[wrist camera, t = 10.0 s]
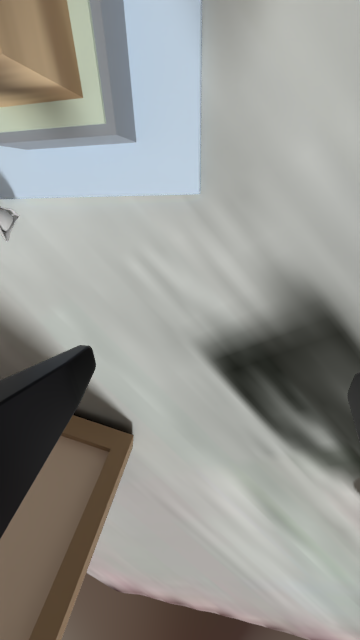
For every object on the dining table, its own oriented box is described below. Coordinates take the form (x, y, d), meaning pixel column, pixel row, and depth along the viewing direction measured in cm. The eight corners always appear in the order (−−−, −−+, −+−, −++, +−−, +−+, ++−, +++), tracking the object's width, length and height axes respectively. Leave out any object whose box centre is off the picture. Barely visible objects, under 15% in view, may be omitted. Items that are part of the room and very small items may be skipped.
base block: (117, -63, 12) (81, -136, 9) (136, 142, 16) (115, 134, 13) (-22, -30, 13) (-89, -84, 11) (27, 149, 17) (-13, 143, 14)
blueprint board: (203, -190, 10) (202, -210, 10) (200, 193, 17) (199, 194, 16) (-98, -95, 13) (-111, -106, 13) (1, 198, 20) (-5, 199, 19)
